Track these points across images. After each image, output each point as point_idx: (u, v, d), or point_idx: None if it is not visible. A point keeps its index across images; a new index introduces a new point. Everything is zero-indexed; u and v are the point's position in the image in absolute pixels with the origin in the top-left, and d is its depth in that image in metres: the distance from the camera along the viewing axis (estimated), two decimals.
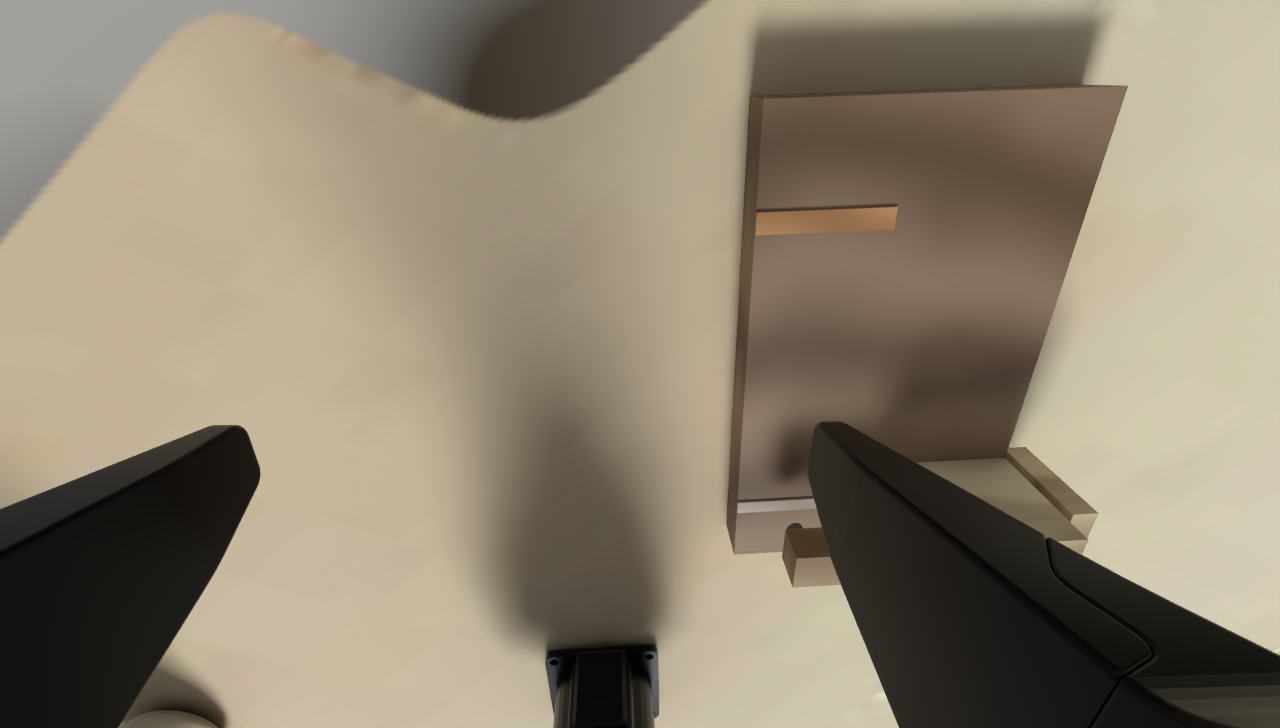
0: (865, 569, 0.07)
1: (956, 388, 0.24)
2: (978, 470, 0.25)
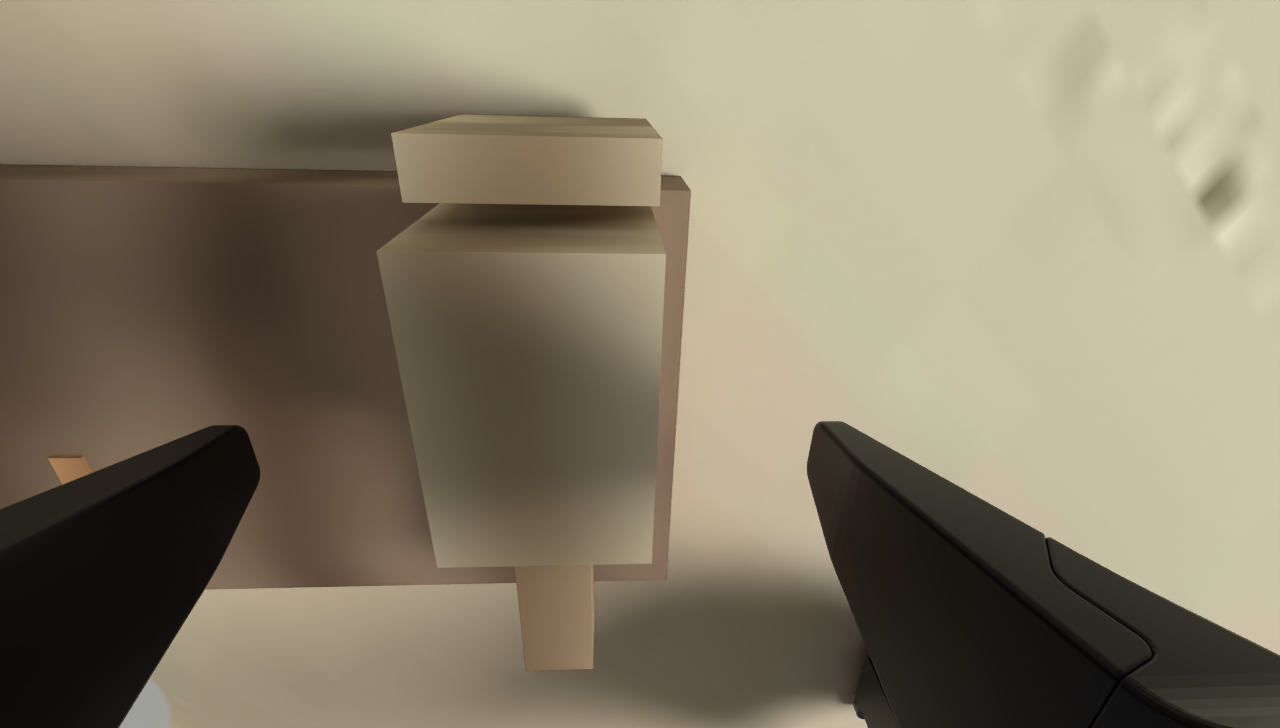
0: (865, 569, 0.07)
1: (316, 318, 0.13)
2: None
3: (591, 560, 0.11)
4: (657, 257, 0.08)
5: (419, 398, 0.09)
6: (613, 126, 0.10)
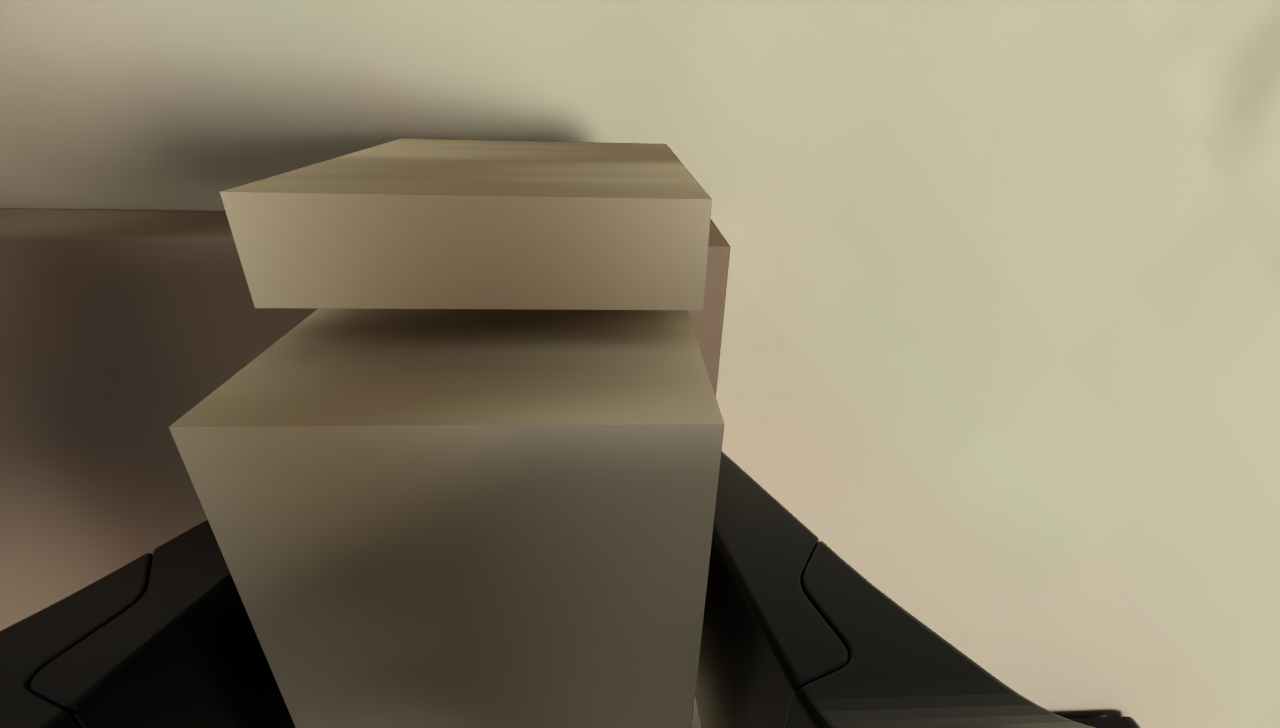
0: None
1: None
2: None
3: None
4: (707, 429, 0.04)
5: (286, 644, 0.05)
6: (621, 163, 0.07)
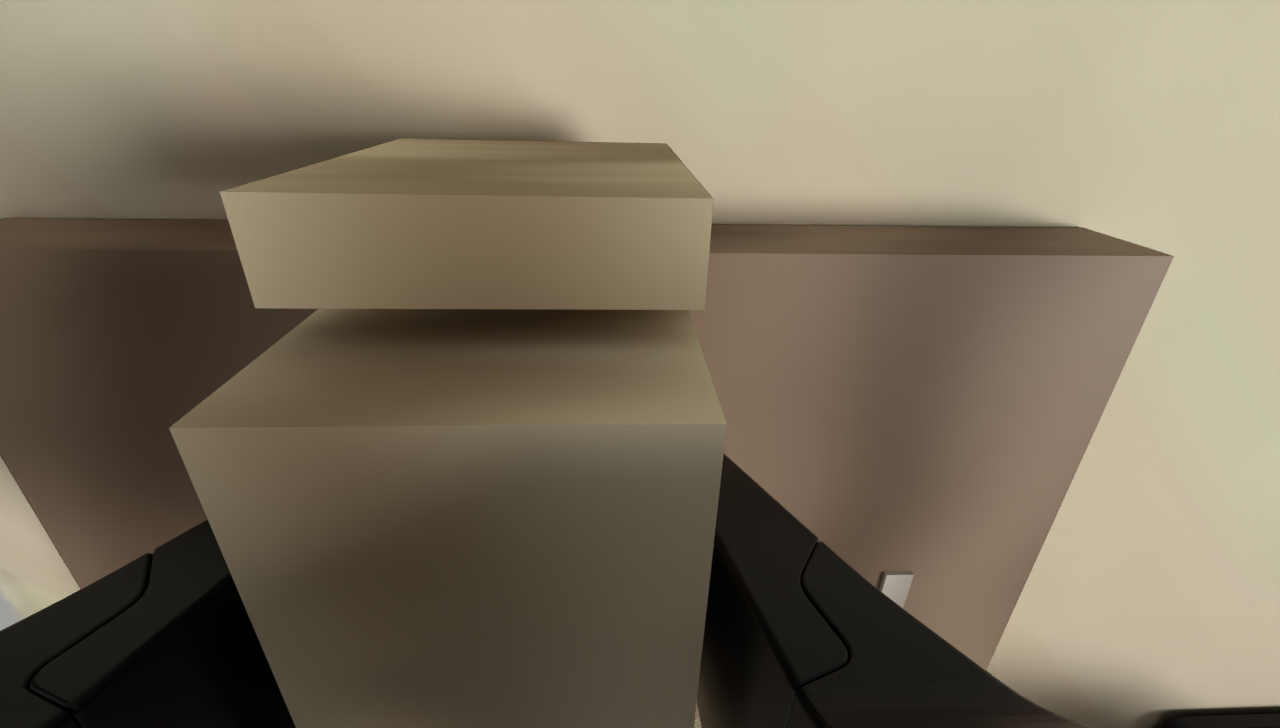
0: None
1: None
2: None
3: None
4: (710, 429, 0.04)
5: (286, 647, 0.05)
6: (622, 163, 0.07)
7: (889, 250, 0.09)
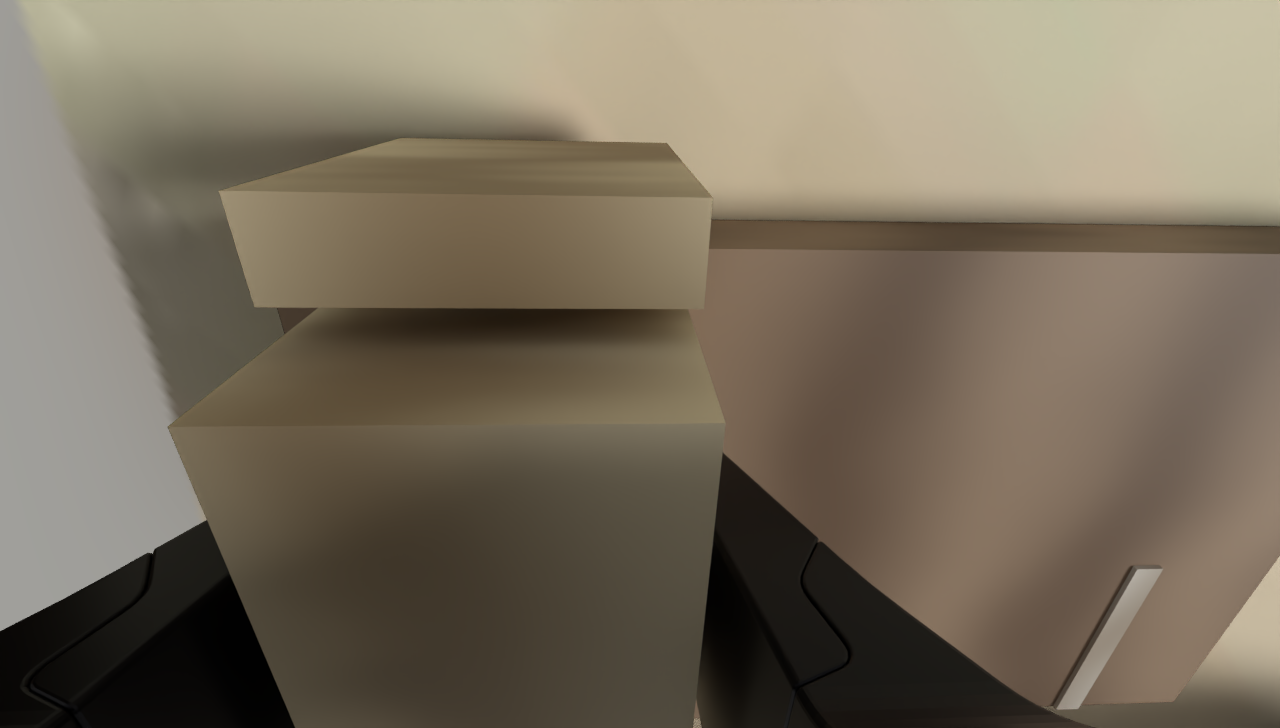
0: None
1: (940, 416, 0.10)
2: None
3: None
4: (709, 428, 0.04)
5: (285, 645, 0.05)
6: (622, 162, 0.07)
7: (1220, 249, 0.09)
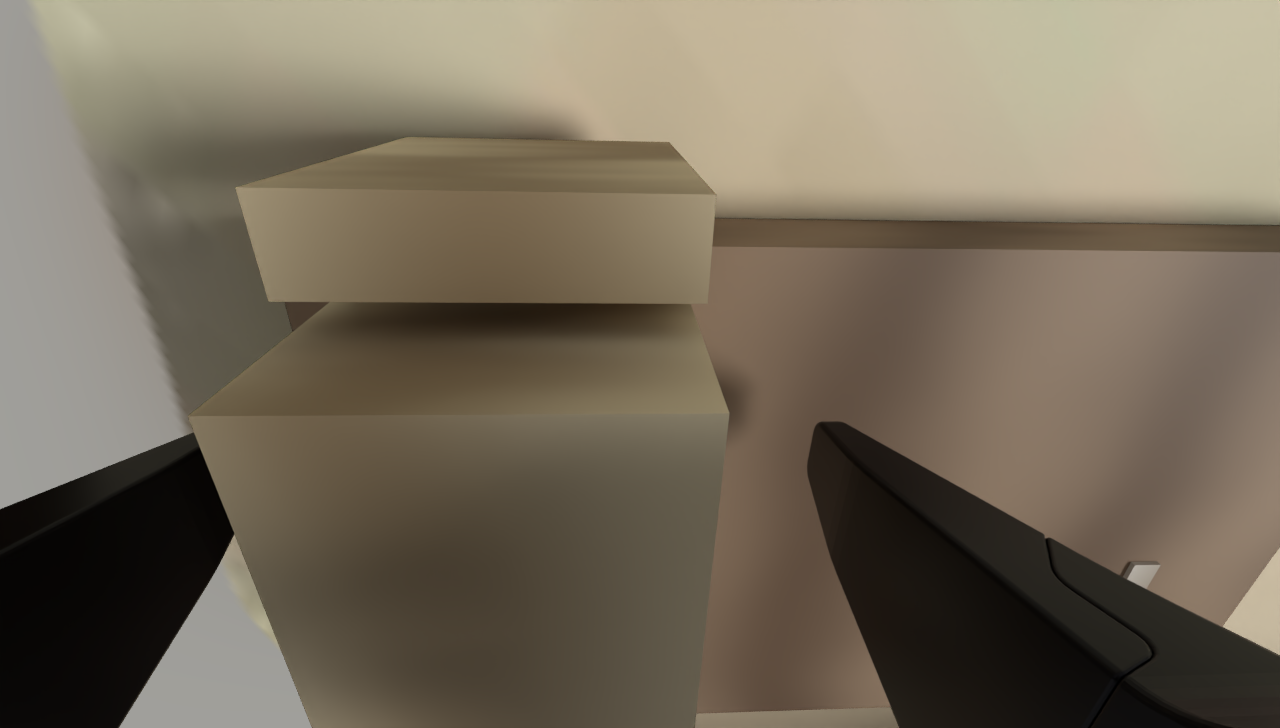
0: (865, 569, 0.07)
1: (939, 413, 0.10)
2: None
3: None
4: (713, 418, 0.04)
5: (298, 632, 0.05)
6: (626, 161, 0.07)
7: (1216, 248, 0.10)
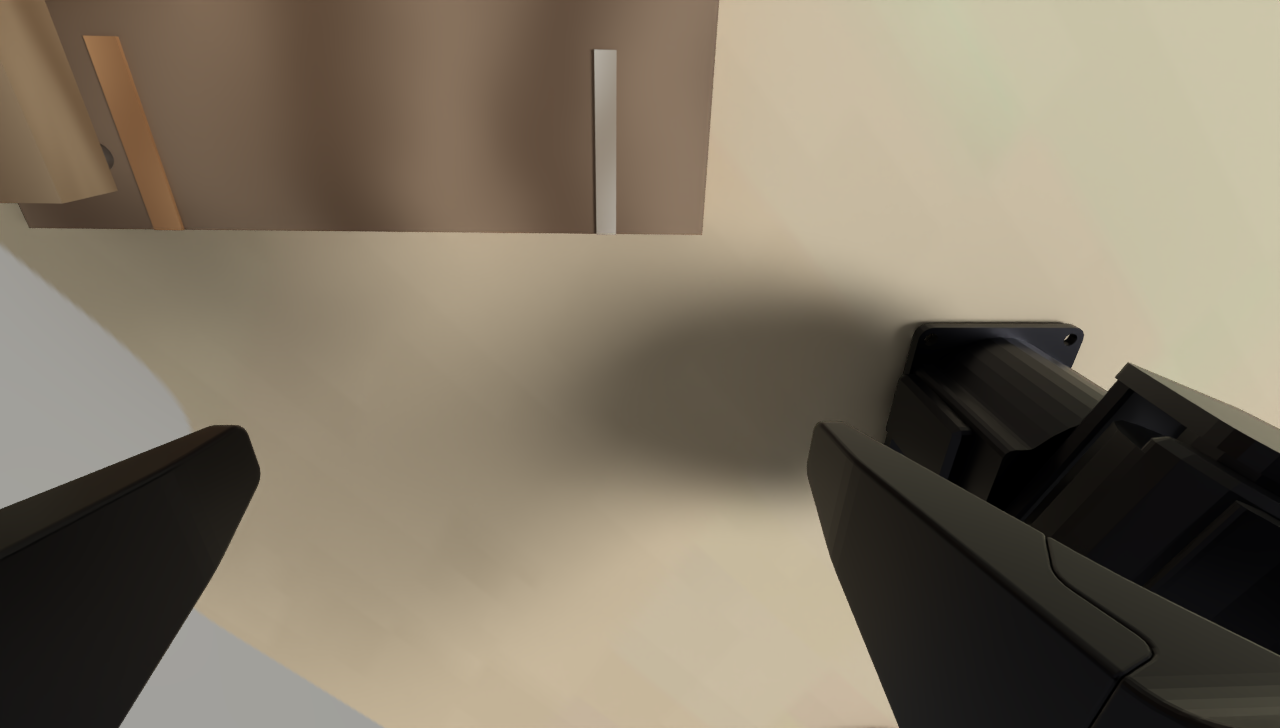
0: (865, 569, 0.07)
1: None
2: None
3: None
4: None
5: None
6: None
7: None
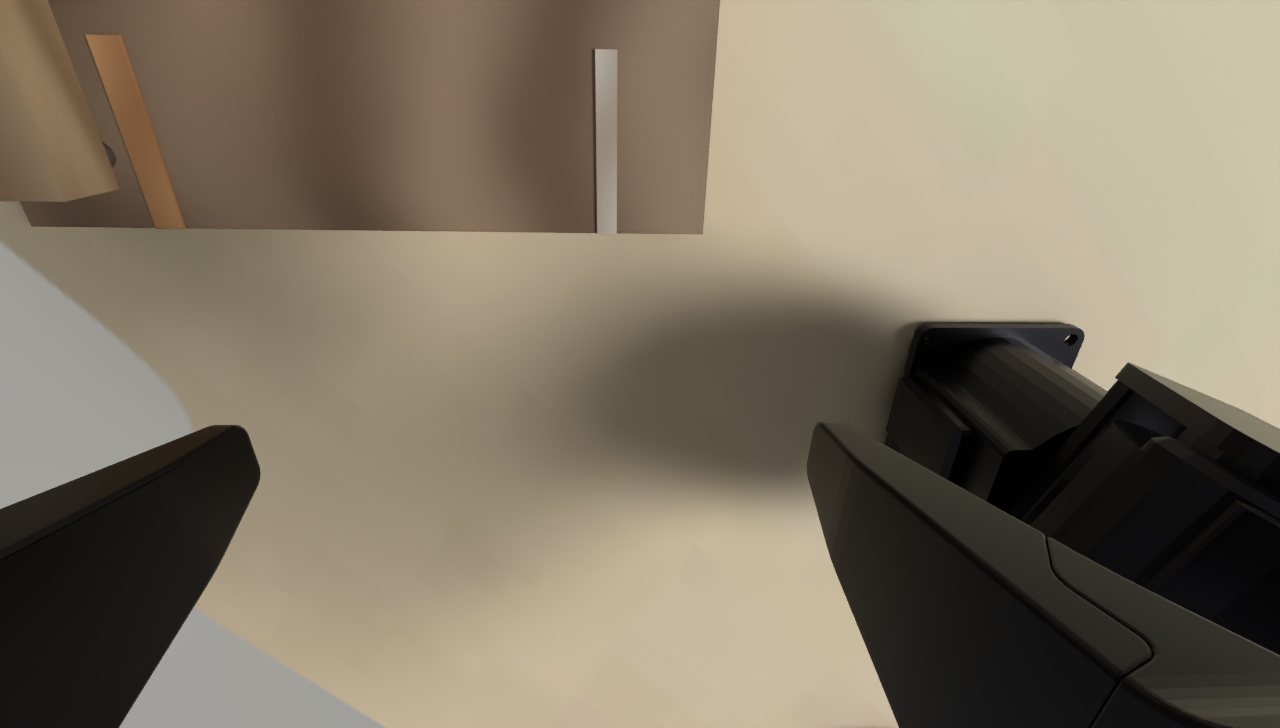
0: (865, 569, 0.07)
1: None
2: None
3: None
4: None
5: None
6: None
7: None
